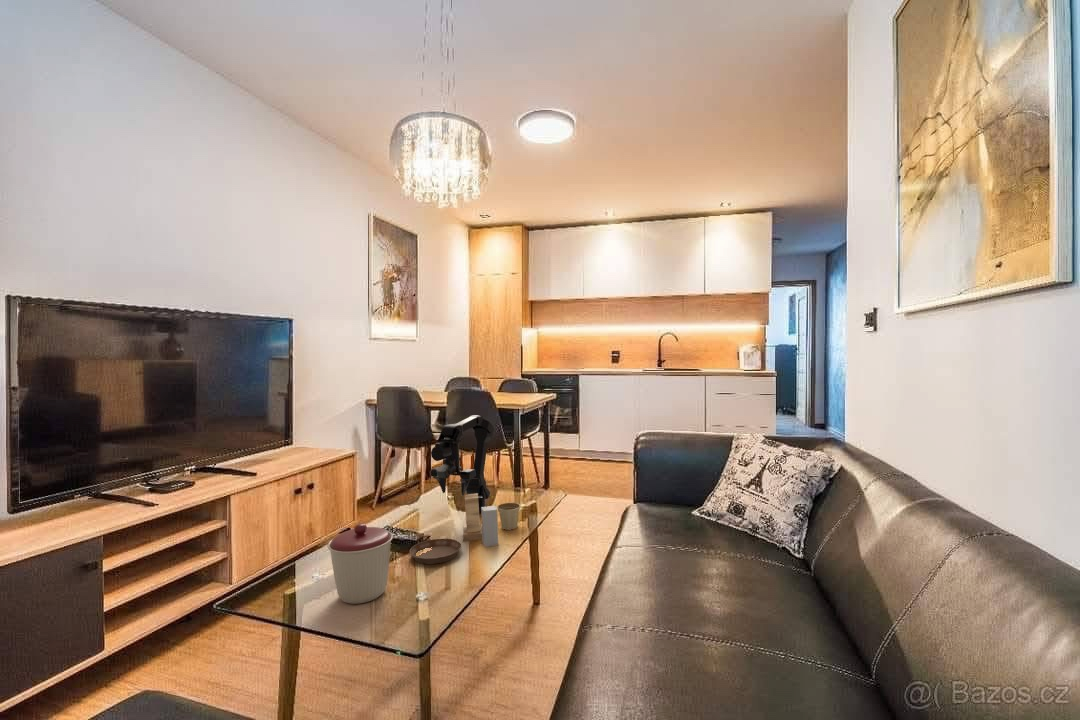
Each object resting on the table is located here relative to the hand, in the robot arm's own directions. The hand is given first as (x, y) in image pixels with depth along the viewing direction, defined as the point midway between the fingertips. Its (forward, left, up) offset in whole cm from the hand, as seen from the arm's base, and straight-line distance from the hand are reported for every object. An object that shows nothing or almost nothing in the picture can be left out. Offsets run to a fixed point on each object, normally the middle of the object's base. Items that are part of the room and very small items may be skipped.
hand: (453, 493), depth 201 cm
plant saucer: (+29, -5, -14) cm, 32 cm away
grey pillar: (+22, +14, -13) cm, 29 cm away
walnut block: (+14, +8, -14) cm, 21 cm away
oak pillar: (+13, +8, -10) cm, 19 cm away
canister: (+54, -24, -13) cm, 61 cm away
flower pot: (+7, +22, -13) cm, 27 cm away
